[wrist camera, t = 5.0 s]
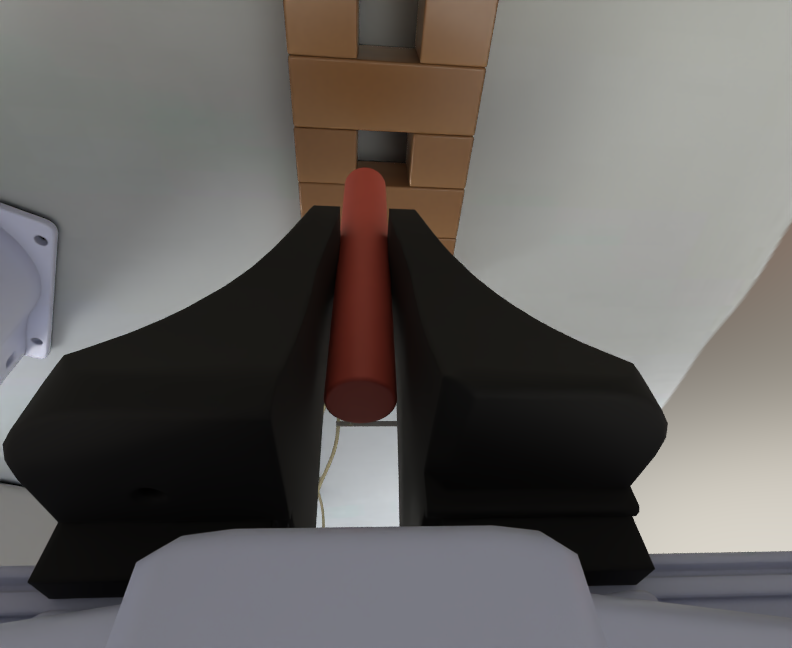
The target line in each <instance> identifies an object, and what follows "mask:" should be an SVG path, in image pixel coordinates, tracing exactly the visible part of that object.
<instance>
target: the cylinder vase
mask: <svg viewBox="0 0 792 648" xmlns="http://www.w3.org/2000/svg"><path fill="white" fill-rule="evenodd" d="M57 524H58V522H57V521H56V520H55V519H54V517H53V516H52V515H51V514H50V513H49V512H48V511H47V510H46V509H45V508H44V507H43V506H42V505H41V504H40V503H39V502H38V501H37V500H36V499H35V498H34V497H33V495H32V494H31V493H30V492H29V491H28V490H27V489H26V488H25V487H20V486H16V485H10V484H4V483H0V566H29V565H36V564H37V562H38V560H39V558H40V556H41V555H42V553H43V551H44V549H45V547H46V545H47V543H48V541H49V539H50V537H51V535H52V533H53V531H54V529H55V527H56V525H57Z"/></svg>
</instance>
